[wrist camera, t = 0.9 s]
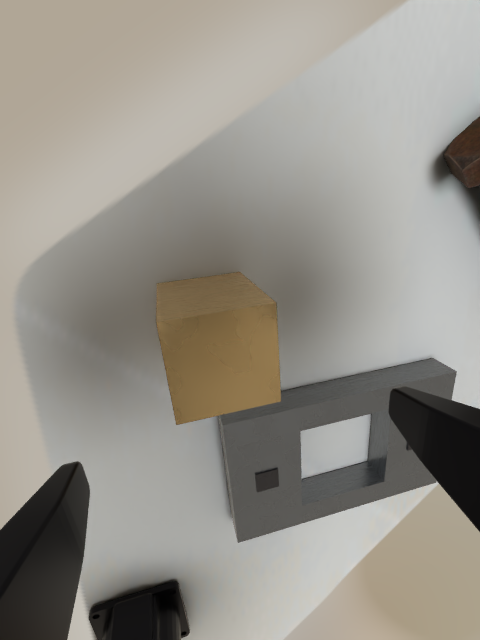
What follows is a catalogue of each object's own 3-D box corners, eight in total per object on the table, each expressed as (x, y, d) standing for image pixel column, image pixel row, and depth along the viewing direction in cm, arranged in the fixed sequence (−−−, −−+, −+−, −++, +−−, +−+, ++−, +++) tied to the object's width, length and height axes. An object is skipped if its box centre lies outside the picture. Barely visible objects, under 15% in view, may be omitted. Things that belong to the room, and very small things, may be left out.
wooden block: (246, 344, 19) (280, 401, 14) (170, 358, 18) (176, 424, 13) (239, 271, 18) (276, 302, 12) (156, 283, 17) (156, 322, 11)
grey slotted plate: (417, 463, 27) (437, 483, 25) (231, 516, 24) (238, 544, 22) (433, 358, 23) (457, 372, 21) (216, 405, 20) (223, 426, 18)
